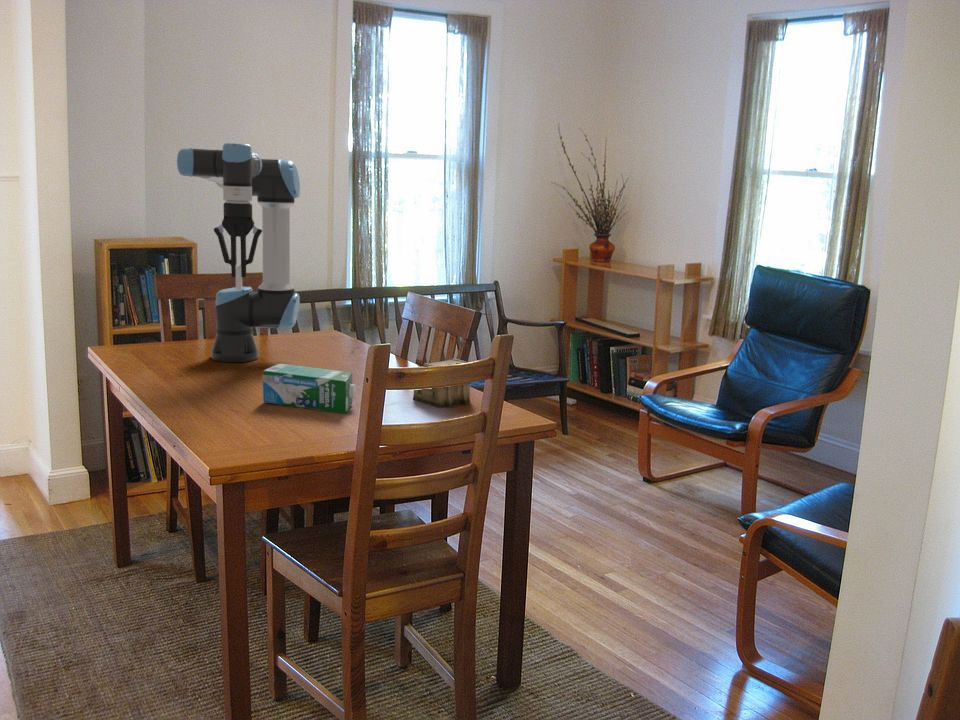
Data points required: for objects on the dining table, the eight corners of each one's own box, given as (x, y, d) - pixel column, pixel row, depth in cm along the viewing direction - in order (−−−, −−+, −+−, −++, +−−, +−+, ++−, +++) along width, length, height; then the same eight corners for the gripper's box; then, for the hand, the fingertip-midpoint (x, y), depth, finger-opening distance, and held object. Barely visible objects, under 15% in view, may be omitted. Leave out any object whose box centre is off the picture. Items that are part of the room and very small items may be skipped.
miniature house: (479, 401, 272) (481, 362, 269) (443, 409, 262) (445, 369, 259) (443, 391, 282) (444, 353, 279) (407, 398, 272) (408, 359, 270)
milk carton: (279, 393, 269) (360, 404, 262) (263, 402, 261) (346, 414, 253) (279, 363, 267) (360, 373, 259) (262, 370, 258) (346, 381, 251)
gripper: (211, 202, 250) (212, 290, 256) (261, 203, 252) (262, 291, 258) (214, 200, 258) (216, 286, 263) (263, 202, 260) (264, 287, 265)
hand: (239, 289), depth 260 cm, fingers closed
